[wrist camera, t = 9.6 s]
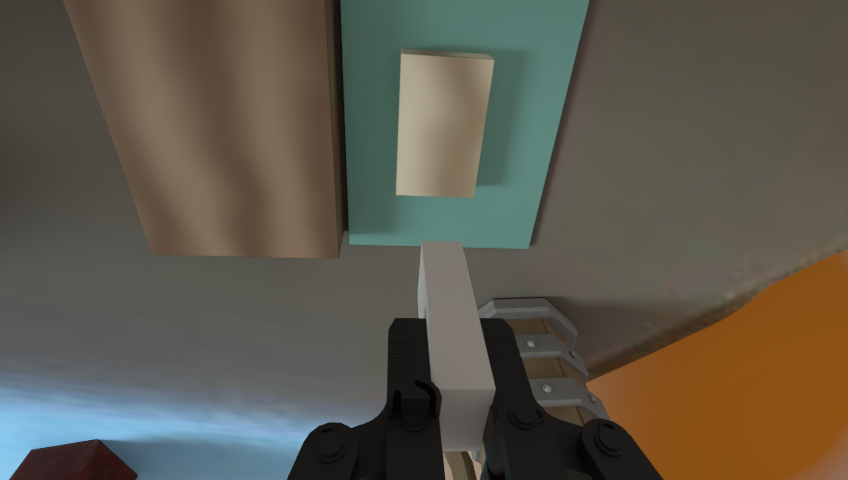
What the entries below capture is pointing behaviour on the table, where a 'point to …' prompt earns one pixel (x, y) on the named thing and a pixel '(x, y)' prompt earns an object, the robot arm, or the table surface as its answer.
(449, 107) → the tile
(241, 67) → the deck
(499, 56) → the mat
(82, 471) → the toy vending machine
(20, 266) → the table surface
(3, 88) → the table surface
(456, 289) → the robot arm
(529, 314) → the tankard
